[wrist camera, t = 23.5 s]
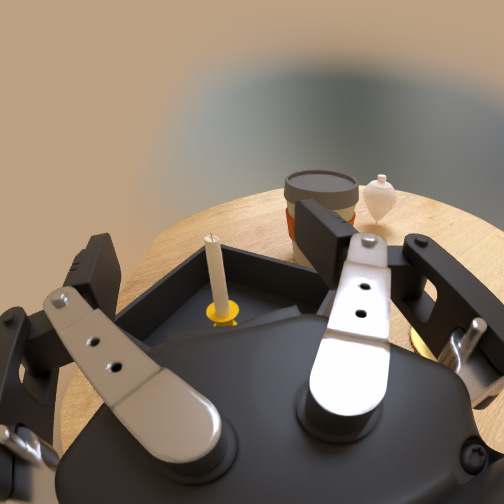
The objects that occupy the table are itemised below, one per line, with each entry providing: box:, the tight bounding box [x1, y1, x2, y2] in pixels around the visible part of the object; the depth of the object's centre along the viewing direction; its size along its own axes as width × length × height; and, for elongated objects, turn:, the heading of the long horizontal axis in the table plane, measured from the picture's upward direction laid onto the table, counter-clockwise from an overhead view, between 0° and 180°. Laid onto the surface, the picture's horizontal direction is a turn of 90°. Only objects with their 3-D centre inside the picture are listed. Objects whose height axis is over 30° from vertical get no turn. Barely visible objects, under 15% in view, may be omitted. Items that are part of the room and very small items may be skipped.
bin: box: [114, 244, 337, 353], centre depth 36 cm, size 22×22×7 cm
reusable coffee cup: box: [284, 170, 359, 269], centre depth 50 cm, size 12×13×15 cm
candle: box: [204, 234, 239, 326], centre depth 33 cm, size 5×5×16 cm
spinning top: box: [363, 175, 396, 225], centre depth 61 cm, size 8×8×12 cm
